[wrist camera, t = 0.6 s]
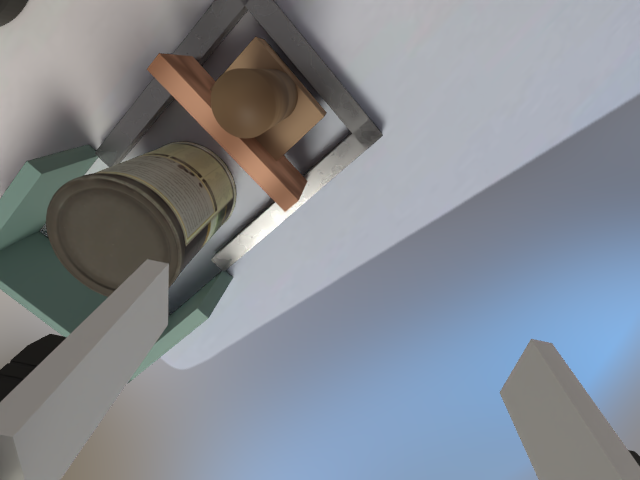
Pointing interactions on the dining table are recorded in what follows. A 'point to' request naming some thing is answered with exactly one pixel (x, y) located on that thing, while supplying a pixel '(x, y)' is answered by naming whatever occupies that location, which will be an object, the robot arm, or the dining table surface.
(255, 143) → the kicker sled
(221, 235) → the dining table surface
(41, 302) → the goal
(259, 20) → the track
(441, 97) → the dining table surface
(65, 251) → the coffee can
